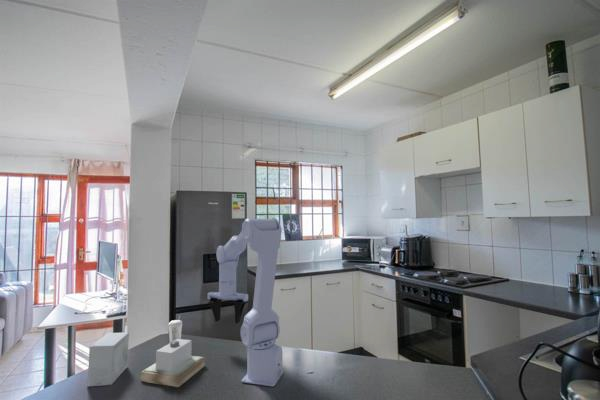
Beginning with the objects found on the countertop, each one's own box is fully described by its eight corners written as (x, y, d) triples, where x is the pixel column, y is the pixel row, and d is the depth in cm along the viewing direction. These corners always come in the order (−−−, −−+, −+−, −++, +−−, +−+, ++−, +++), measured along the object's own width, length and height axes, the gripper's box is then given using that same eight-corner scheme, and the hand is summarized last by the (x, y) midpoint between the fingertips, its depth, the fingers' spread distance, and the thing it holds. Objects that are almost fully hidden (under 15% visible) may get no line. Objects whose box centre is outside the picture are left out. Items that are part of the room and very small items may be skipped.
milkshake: (185, 343, 108) (185, 315, 108) (178, 350, 102) (178, 319, 103) (173, 343, 108) (173, 314, 109) (165, 349, 103) (165, 319, 104)
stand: (204, 366, 91) (204, 356, 91) (178, 387, 79) (178, 376, 80) (170, 361, 94) (170, 352, 94) (140, 381, 83) (141, 370, 83)
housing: (171, 372, 82) (171, 349, 82) (155, 369, 83) (156, 348, 84) (191, 357, 90) (191, 337, 91) (177, 355, 92) (177, 336, 92)
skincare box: (112, 385, 81) (114, 344, 82) (86, 387, 80) (88, 346, 81) (128, 366, 91) (129, 331, 92) (105, 368, 90) (106, 332, 91)
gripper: (252, 279, 106) (252, 319, 105) (215, 277, 110) (215, 316, 109) (243, 283, 99) (242, 326, 98) (204, 281, 103) (203, 322, 102)
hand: (227, 321), depth 103 cm, fingers open, 7 cm apart
